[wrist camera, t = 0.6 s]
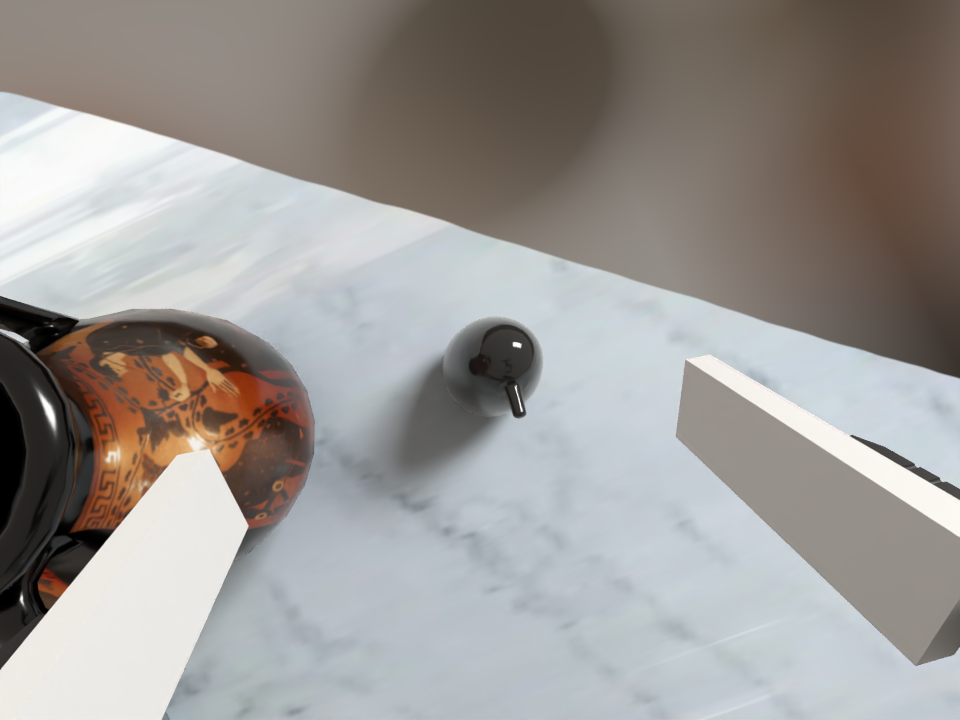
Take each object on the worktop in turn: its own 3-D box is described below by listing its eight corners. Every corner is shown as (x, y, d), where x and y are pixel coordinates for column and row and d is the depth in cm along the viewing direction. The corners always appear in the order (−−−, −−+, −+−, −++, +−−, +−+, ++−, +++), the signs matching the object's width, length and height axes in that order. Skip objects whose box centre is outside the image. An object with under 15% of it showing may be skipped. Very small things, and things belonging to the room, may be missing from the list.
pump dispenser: (449, 425, 45) (459, 430, 30) (434, 336, 46) (436, 298, 31) (535, 409, 46) (586, 406, 31) (519, 323, 48) (559, 281, 33)
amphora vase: (89, 386, 41) (-613, 324, 13) (294, 307, 45) (74, 132, 17) (163, 584, 39) (-463, 979, 12) (369, 485, 43) (261, 610, 15)
